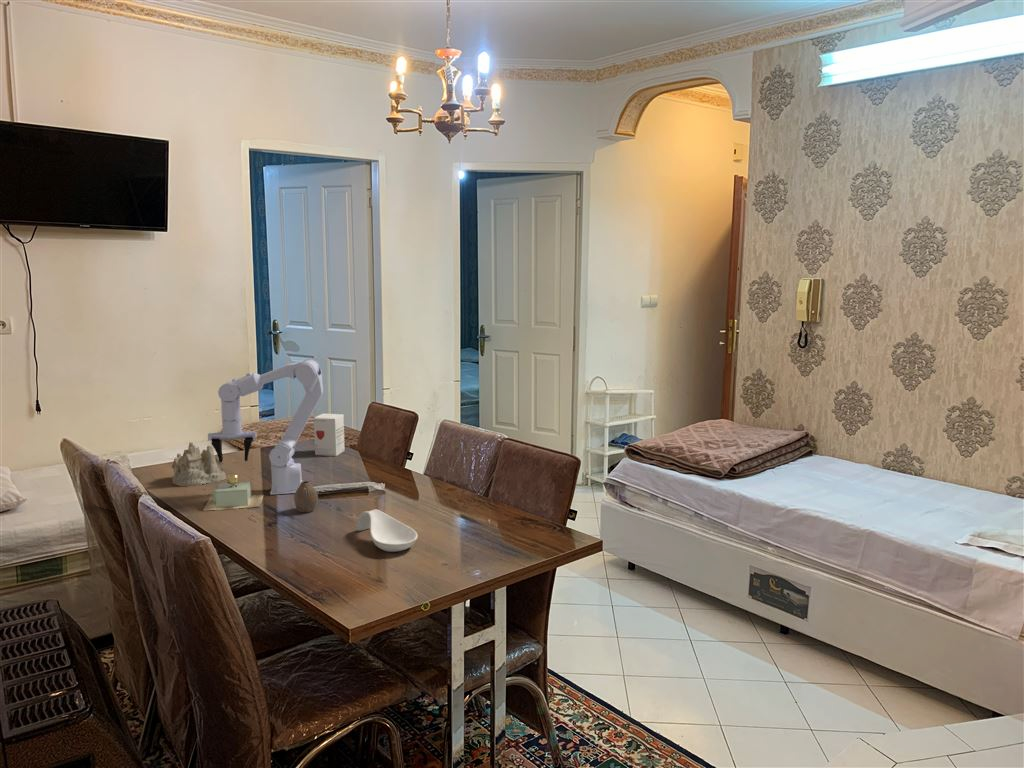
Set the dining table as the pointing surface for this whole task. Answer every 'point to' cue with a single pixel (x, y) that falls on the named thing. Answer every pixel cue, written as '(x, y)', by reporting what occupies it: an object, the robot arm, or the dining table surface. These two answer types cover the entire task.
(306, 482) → the vase
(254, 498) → the cork mat
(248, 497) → the mint green slotted box
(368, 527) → the spoon rest
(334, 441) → the supplement box
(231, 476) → the gold rounded piece
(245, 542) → the dining table surface
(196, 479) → the sand castle
